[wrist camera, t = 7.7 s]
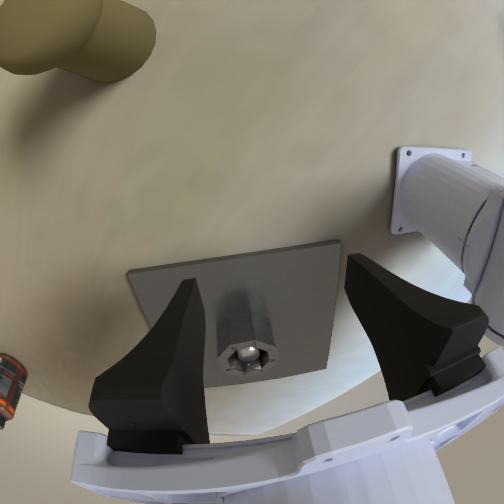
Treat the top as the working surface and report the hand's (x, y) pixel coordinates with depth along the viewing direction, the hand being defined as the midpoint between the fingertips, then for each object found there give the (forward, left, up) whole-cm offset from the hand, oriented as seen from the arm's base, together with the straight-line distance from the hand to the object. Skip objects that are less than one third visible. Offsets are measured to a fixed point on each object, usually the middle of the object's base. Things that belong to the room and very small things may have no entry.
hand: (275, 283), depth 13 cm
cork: (+8, -14, -10) cm, 19 cm away
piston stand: (+2, +13, -9) cm, 16 cm away
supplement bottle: (+39, +18, -10) cm, 44 cm away
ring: (+2, +13, -9) cm, 15 cm away
